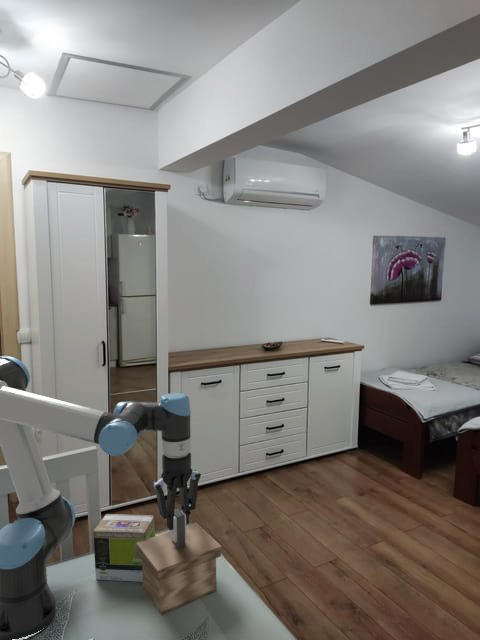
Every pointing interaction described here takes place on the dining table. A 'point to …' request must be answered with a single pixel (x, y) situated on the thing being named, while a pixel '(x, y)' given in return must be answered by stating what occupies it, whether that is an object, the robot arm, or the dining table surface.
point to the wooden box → (180, 586)
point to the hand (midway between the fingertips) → (178, 537)
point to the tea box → (121, 546)
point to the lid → (178, 549)
